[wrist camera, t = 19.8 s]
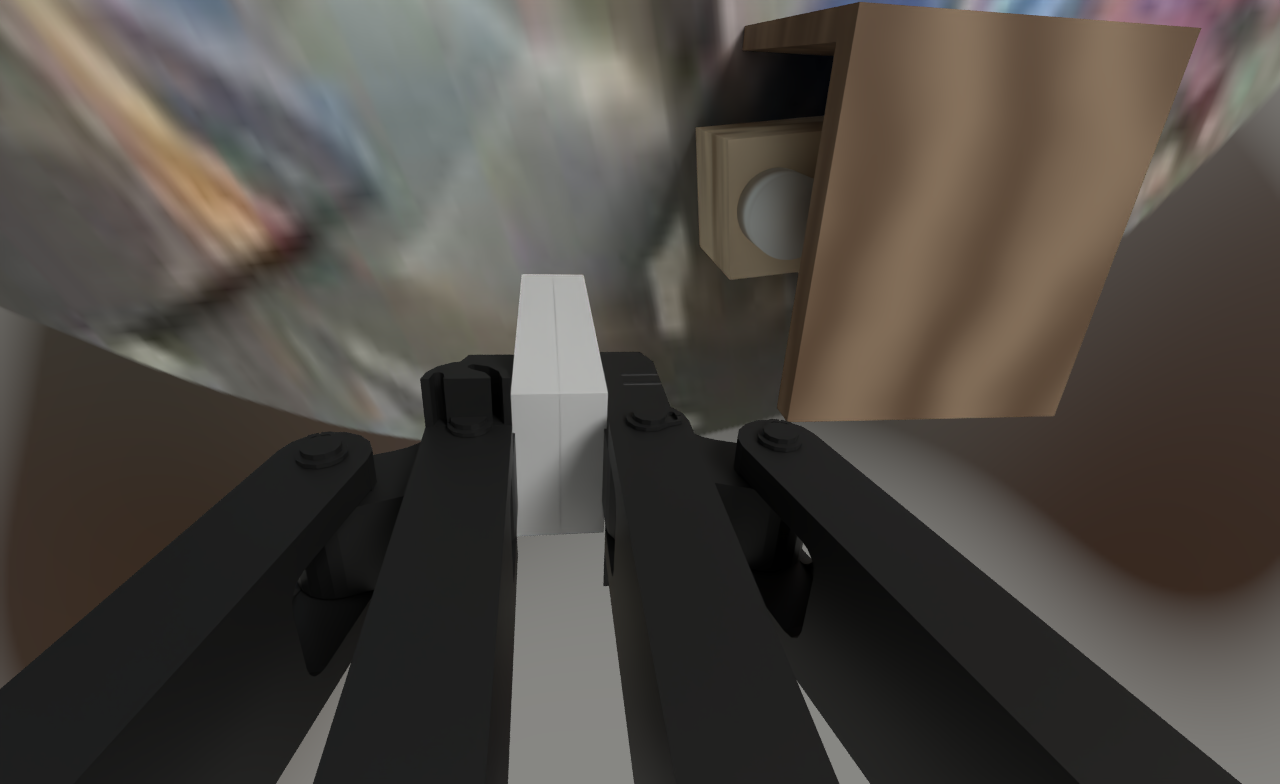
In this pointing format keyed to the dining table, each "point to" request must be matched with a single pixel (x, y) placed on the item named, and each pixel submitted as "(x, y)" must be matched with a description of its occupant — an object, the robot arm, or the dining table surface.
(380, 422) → the dining table surface
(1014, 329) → the wooden cubby
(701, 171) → the glass caddy
